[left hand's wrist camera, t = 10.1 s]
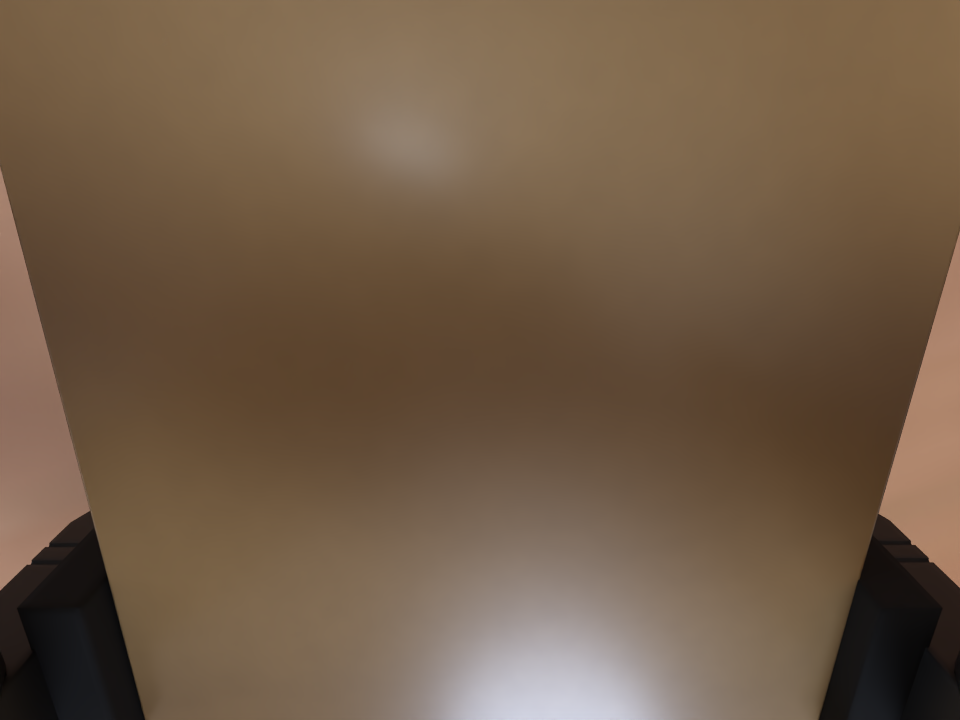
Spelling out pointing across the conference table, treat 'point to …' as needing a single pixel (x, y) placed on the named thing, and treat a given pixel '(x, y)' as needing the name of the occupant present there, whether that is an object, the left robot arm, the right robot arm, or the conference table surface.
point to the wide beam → (483, 337)
